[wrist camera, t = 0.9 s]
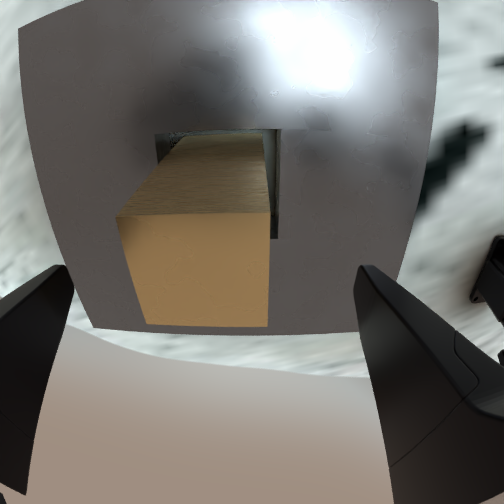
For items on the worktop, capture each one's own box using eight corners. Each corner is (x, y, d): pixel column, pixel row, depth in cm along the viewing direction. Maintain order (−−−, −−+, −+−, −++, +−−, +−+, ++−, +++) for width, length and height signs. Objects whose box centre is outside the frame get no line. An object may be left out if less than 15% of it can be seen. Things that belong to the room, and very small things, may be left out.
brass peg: (261, 133, 15) (270, 212, 7) (261, 203, 17) (267, 326, 10) (183, 136, 15) (115, 217, 8) (190, 204, 17) (146, 324, 10)
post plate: (414, 7, 10) (437, 2, 8) (369, 304, 22) (378, 329, 19) (44, 28, 11) (18, 28, 8) (104, 304, 22) (93, 327, 20)
